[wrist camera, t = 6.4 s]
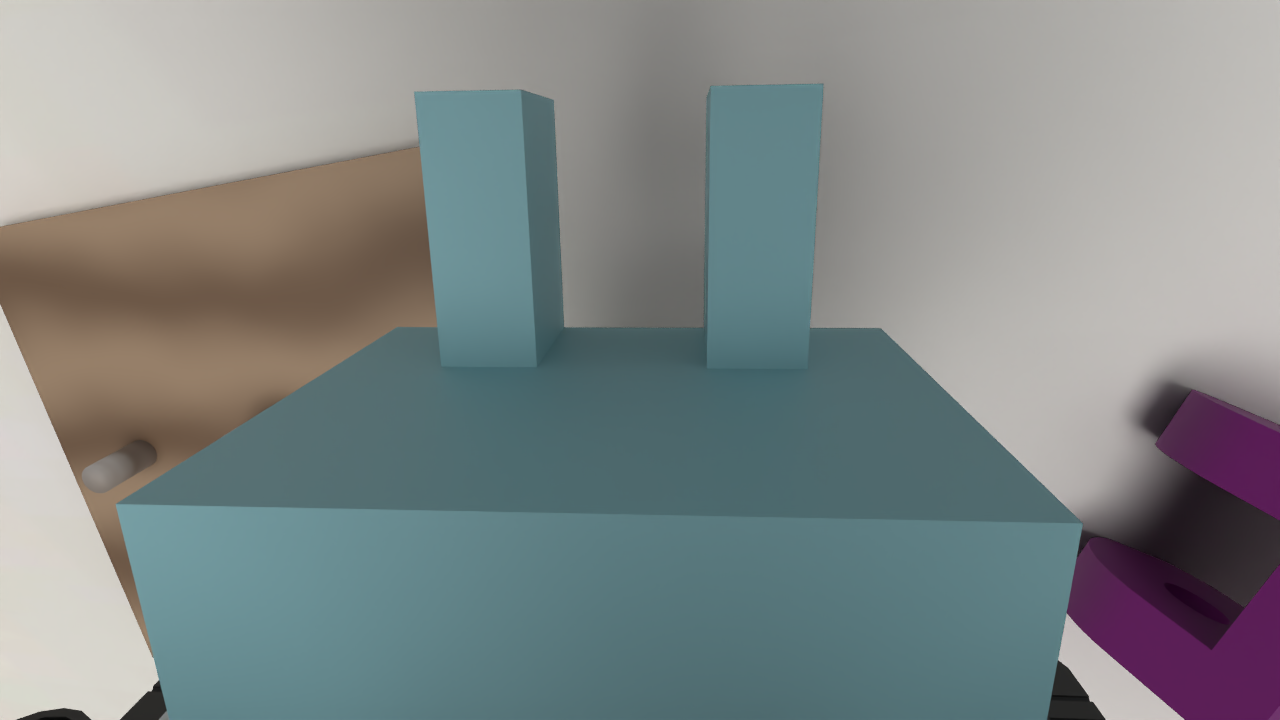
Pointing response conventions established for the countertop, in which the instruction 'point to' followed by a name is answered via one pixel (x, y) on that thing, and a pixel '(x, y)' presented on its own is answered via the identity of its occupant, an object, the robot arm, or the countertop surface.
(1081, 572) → the mounting bracket
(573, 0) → the countertop surface
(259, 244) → the plate
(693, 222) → the countertop surface
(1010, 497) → the flange block
